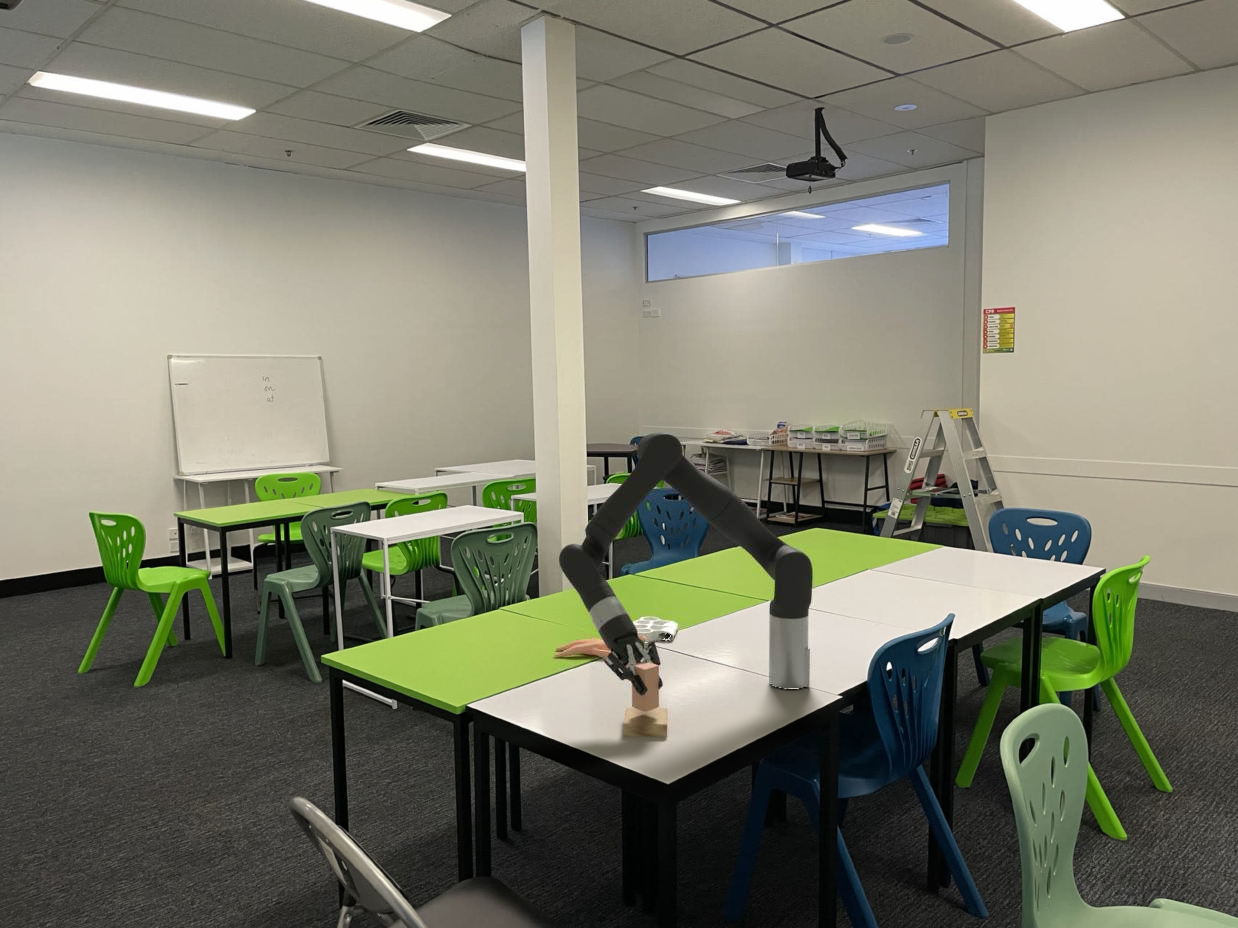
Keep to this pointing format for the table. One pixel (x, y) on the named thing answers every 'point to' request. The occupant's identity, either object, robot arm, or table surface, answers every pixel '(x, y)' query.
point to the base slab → (645, 722)
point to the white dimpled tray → (655, 628)
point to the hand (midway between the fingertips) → (652, 690)
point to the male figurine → (587, 647)
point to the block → (650, 680)
